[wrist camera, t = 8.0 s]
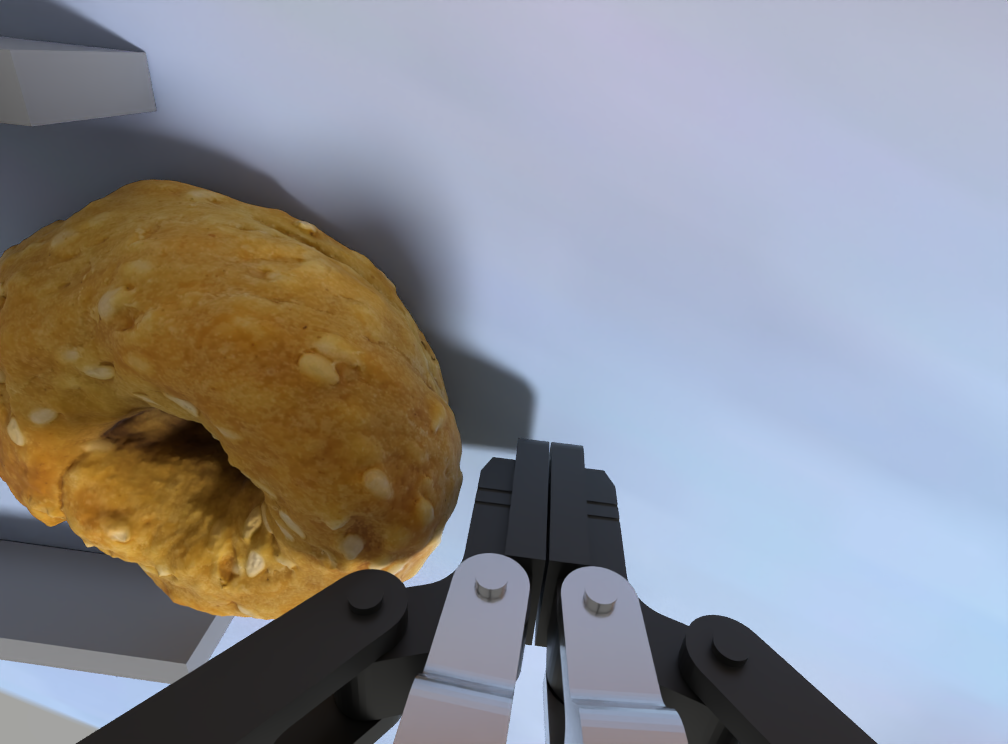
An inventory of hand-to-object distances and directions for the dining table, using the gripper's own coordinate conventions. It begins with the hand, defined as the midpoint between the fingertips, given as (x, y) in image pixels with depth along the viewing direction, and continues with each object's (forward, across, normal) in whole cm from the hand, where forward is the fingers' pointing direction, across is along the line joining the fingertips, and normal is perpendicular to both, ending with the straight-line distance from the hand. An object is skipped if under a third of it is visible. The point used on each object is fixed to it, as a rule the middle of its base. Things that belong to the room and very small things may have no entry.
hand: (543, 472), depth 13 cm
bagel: (+2, +7, -1) cm, 7 cm away
